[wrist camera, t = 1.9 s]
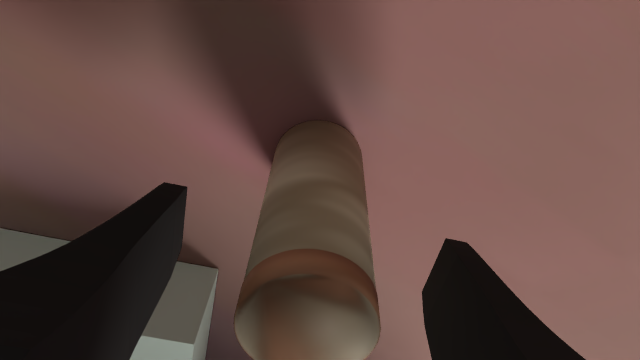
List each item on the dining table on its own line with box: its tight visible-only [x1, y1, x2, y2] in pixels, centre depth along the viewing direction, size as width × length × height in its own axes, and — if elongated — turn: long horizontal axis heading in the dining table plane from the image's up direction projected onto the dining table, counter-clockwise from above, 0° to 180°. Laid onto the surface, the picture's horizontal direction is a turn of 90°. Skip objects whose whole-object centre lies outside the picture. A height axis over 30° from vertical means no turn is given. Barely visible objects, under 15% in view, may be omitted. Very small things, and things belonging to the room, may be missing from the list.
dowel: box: [234, 120, 381, 360], centre depth 14 cm, size 3×3×8 cm
